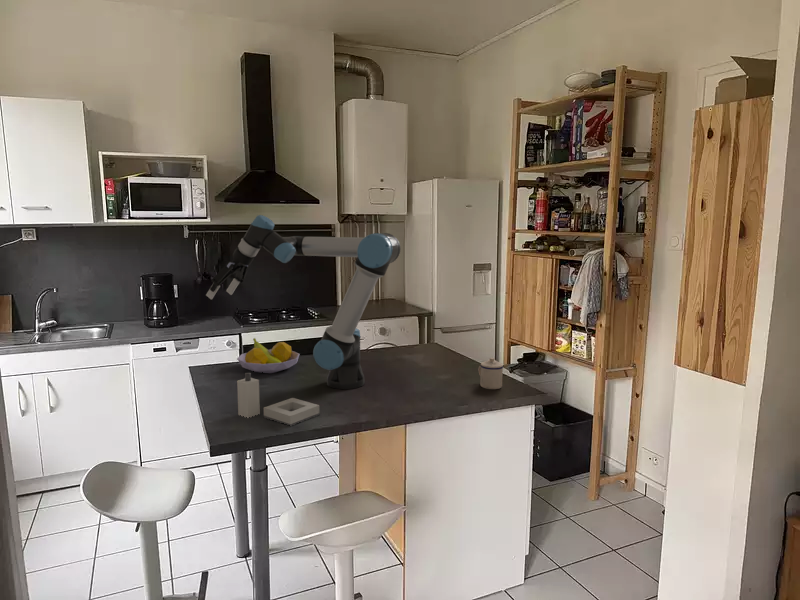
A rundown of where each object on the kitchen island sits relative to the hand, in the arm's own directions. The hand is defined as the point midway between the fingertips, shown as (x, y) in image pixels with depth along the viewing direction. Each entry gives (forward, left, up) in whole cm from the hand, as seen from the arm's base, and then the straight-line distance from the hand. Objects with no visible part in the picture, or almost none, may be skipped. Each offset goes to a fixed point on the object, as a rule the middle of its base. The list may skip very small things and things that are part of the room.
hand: (219, 295), depth 215 cm
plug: (-11, +39, -36) cm, 54 cm away
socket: (-24, +42, -36) cm, 61 cm away
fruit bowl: (-18, -19, -36) cm, 45 cm away
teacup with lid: (-104, +25, -36) cm, 113 cm away
